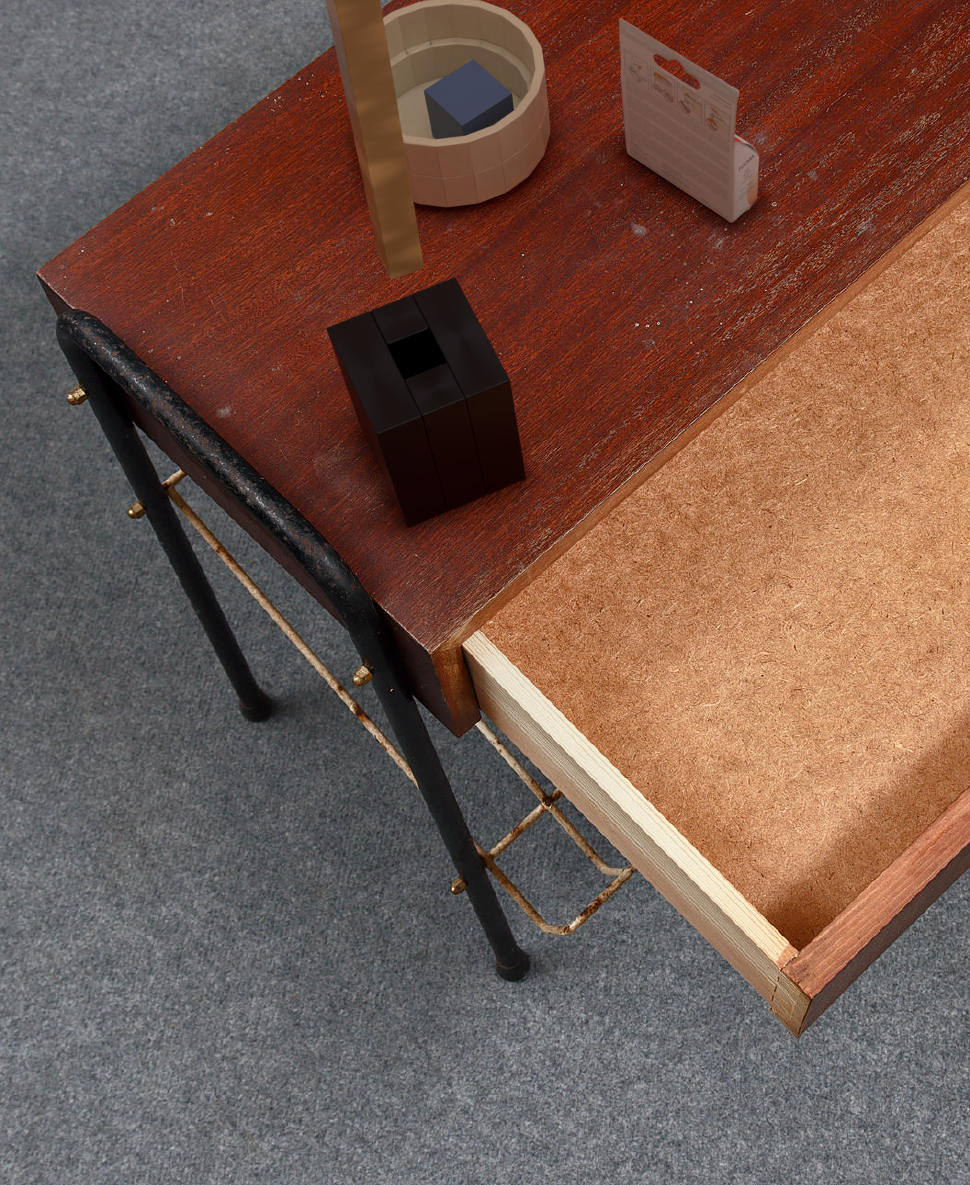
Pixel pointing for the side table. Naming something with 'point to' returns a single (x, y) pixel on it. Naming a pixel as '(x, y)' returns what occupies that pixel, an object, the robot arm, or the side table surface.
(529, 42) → the bowl
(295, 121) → the side table surface
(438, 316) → the stand
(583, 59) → the side table surface
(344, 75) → the stick
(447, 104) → the block
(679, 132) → the ink box
